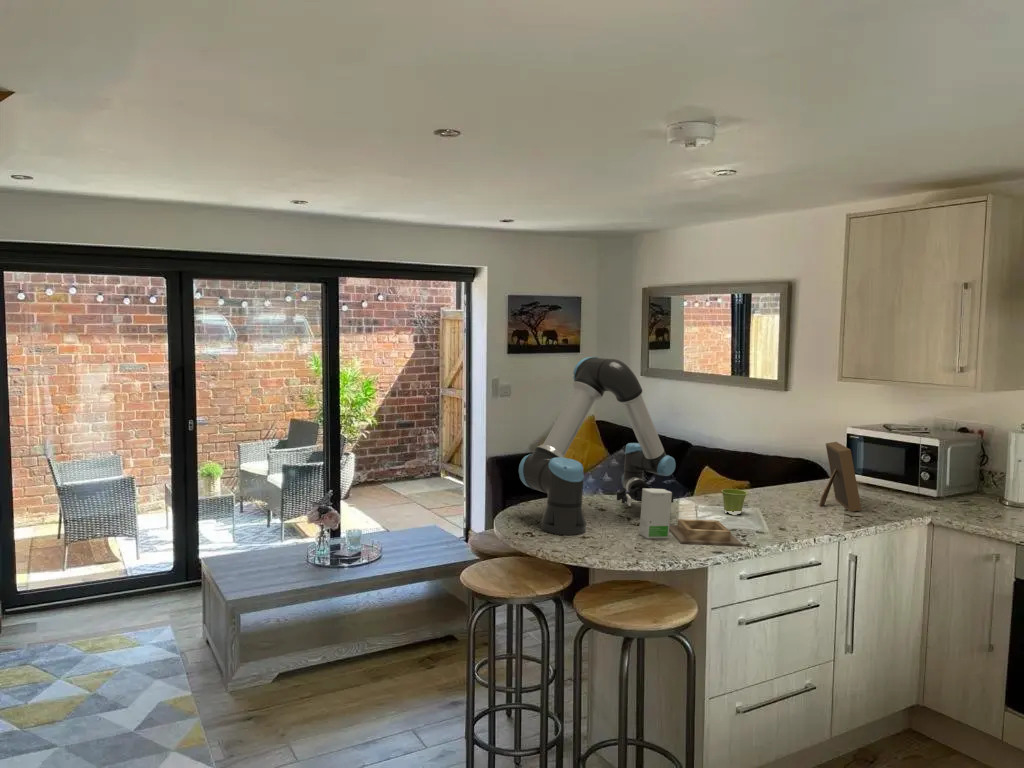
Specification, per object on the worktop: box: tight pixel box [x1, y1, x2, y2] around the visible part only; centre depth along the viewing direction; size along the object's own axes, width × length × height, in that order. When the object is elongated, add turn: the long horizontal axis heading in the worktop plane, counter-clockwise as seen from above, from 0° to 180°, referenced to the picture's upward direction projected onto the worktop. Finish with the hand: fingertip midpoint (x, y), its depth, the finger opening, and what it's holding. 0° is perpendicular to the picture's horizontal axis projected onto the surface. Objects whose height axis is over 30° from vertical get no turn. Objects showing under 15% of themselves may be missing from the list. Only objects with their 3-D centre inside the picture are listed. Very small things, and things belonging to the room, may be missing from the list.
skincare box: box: [638, 488, 673, 540], centre depth 250 cm, size 8×7×16 cm
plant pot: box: [721, 488, 748, 512], centre depth 288 cm, size 9×9×9 cm
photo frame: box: [818, 441, 862, 513], centre depth 311 cm, size 15×22×25 cm
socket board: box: [669, 518, 743, 547], centre depth 253 cm, size 20×20×4 cm
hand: (649, 502), depth 260 cm, fingers open, 13 cm apart
